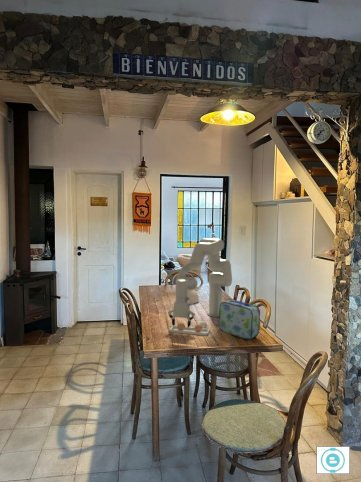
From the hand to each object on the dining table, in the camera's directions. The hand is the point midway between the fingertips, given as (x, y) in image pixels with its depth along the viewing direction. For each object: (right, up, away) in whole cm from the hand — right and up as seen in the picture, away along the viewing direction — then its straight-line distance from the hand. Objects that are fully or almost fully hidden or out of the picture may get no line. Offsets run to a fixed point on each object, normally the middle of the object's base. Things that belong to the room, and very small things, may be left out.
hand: (181, 326), depth 209 cm
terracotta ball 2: (+11, -3, -2) cm, 11 cm away
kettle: (+5, +1, +77) cm, 77 cm away
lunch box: (+36, -5, -3) cm, 36 cm away
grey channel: (+5, -4, -1) cm, 7 cm away
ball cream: (+14, -3, +5) cm, 16 cm away
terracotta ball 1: (0, -3, 0) cm, 3 cm away
